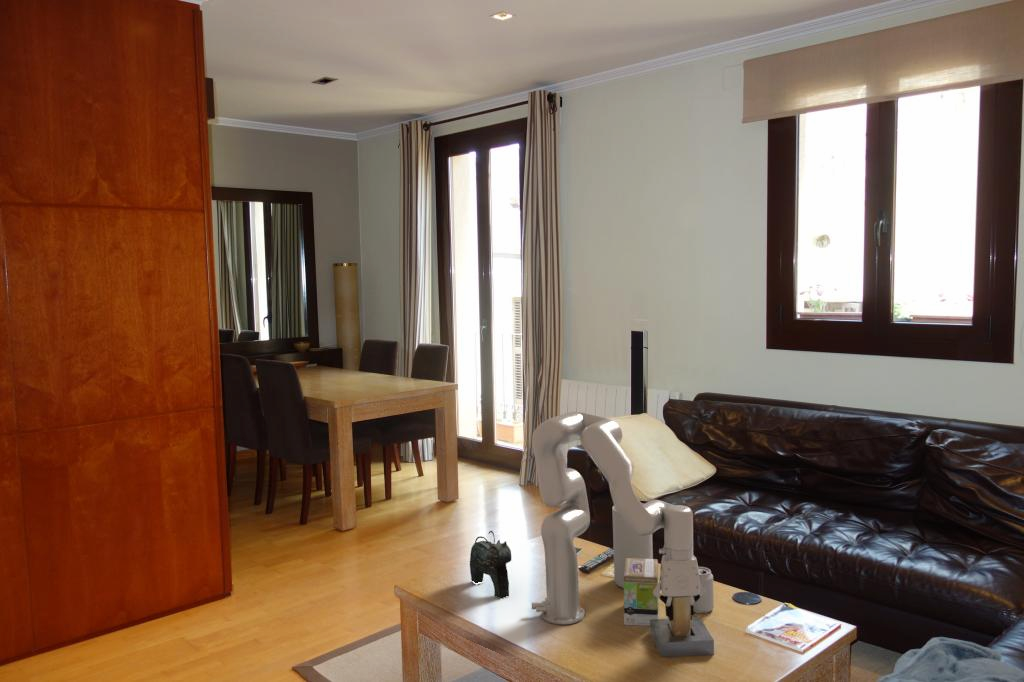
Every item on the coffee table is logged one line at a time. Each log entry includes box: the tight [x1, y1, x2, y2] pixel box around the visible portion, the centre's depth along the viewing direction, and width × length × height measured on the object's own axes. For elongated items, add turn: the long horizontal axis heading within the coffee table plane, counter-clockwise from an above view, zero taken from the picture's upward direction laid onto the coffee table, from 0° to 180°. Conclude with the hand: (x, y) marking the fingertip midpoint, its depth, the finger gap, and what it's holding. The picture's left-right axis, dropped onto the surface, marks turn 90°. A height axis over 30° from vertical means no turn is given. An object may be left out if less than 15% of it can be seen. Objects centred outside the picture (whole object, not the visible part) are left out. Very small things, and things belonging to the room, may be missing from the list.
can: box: [694, 566, 715, 614], centre depth 233 cm, size 8×8×12 cm
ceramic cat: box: [469, 530, 512, 599], centre depth 253 cm, size 20×6×20 cm, turn 34°
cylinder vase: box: [612, 502, 654, 589], centre depth 254 cm, size 12×12×25 cm
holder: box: [649, 616, 715, 658], centre depth 212 cm, size 14×14×4 cm
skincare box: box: [669, 596, 691, 637], centre depth 211 cm, size 6×4×12 cm
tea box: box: [623, 558, 660, 627], centre depth 230 cm, size 15×10×15 cm, turn 170°
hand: (679, 617), depth 211 cm, fingers closed on skincare box, 4 cm apart
